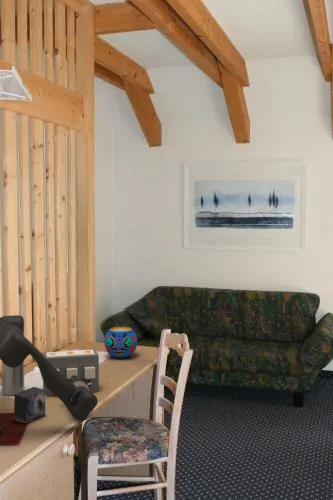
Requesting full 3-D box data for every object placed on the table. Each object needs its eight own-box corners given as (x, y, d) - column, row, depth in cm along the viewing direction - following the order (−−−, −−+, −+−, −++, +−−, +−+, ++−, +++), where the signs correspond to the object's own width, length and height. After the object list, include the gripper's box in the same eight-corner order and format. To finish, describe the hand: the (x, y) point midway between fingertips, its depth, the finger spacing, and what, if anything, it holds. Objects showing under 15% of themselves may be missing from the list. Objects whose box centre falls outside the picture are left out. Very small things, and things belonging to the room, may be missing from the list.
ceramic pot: (101, 361, 292) (101, 332, 291) (106, 352, 310) (106, 325, 309) (135, 361, 292) (135, 332, 290) (138, 352, 309) (138, 325, 308)
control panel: (44, 396, 239) (43, 357, 237) (43, 388, 248) (42, 351, 247) (98, 391, 245) (98, 353, 243) (95, 384, 254) (95, 348, 253)
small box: (26, 425, 208) (25, 397, 207) (13, 421, 211) (12, 393, 210) (46, 416, 217) (46, 389, 216) (34, 412, 220) (33, 386, 219)
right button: (84, 378, 241) (84, 368, 240) (84, 376, 244) (83, 366, 243) (95, 377, 242) (95, 367, 241) (94, 375, 245) (94, 365, 244)
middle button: (66, 380, 239) (66, 369, 238) (66, 377, 242) (66, 367, 241) (77, 379, 240) (77, 369, 239) (76, 377, 243) (76, 367, 242)
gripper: (61, 401, 218) (57, 387, 235) (95, 398, 222) (89, 385, 238) (61, 382, 218) (57, 369, 234) (95, 380, 221) (89, 367, 238)
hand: (73, 377), depth 236 cm, fingers closed
